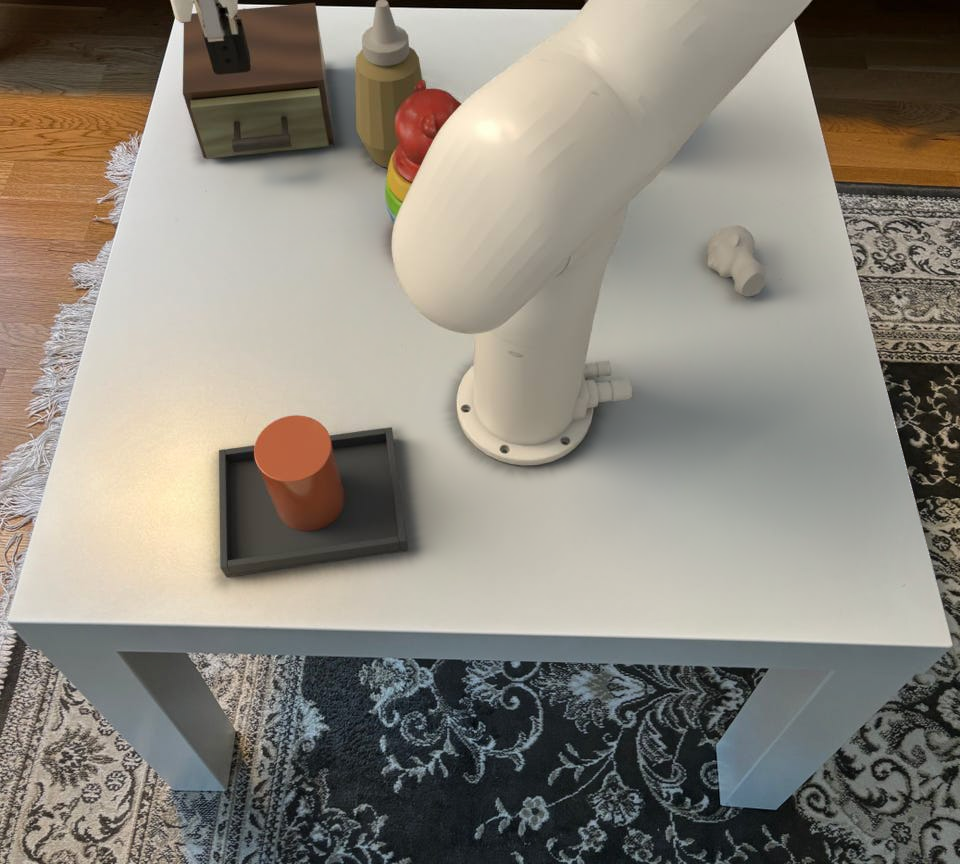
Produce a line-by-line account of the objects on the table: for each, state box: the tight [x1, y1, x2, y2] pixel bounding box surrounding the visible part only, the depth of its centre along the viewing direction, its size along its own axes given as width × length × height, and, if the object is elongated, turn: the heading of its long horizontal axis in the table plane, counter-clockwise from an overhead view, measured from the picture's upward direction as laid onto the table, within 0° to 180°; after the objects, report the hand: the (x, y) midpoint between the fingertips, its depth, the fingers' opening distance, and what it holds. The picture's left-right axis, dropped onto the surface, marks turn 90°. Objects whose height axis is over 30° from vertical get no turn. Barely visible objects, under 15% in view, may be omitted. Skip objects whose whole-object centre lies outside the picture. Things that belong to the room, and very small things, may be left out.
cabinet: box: [182, 2, 335, 159], centre depth 100 cm, size 14×15×9 cm
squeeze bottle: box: [354, 0, 423, 169], centre depth 92 cm, size 8×8×18 cm
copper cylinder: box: [254, 414, 345, 531], centre depth 73 cm, size 6×6×9 cm
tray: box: [218, 426, 409, 578], centre depth 76 cm, size 15×11×2 cm
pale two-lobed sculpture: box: [706, 225, 767, 297], centre depth 90 cm, size 4×8×5 cm
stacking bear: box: [384, 79, 462, 226], centre depth 86 cm, size 11×10×18 cm
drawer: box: [191, 87, 330, 159], centre depth 98 cm, size 17×13×7 cm
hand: (232, 67), depth 78 cm, fingers closed
